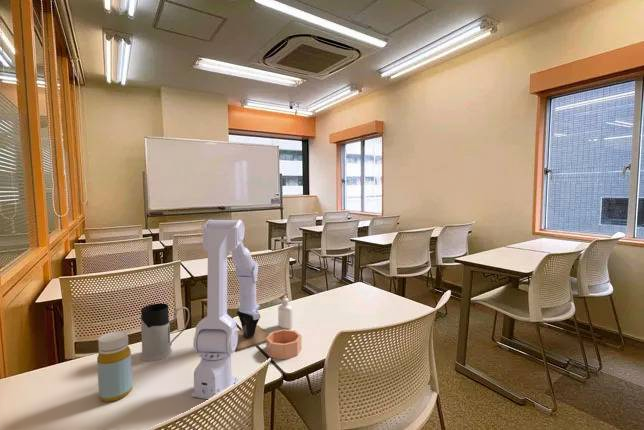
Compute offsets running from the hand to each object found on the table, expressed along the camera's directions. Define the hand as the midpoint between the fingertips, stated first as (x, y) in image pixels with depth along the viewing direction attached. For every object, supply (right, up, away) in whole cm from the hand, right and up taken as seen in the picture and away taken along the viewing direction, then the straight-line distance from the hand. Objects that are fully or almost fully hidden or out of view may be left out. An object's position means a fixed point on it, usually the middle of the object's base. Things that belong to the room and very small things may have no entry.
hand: (248, 333), depth 110 cm
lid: (0, -2, 0) cm, 2 cm away
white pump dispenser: (+12, -1, +9) cm, 15 cm away
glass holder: (-24, -3, -9) cm, 26 cm away
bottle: (-26, -4, -30) cm, 40 cm away
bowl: (+13, -2, -8) cm, 16 cm away
